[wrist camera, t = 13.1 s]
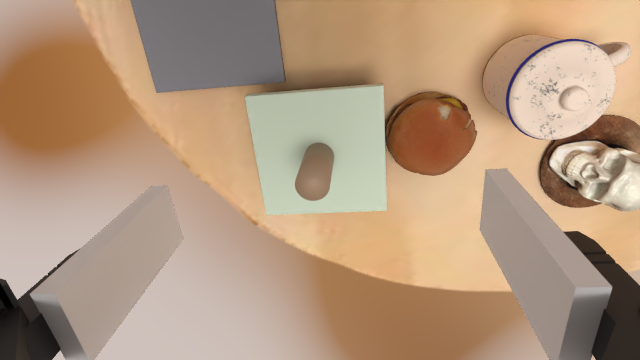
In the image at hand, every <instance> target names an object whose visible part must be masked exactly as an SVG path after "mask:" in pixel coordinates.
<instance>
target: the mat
mask: <svg viewBox="0 0 640 360" xmlns="http://www.w3.org/2000/svg"><path fill="white" fill-rule="evenodd" d="M131 4H132V7H133V11H134V15H135V18H136V22H137V25H138V29H139V32H140V36H141V39H142V43H143V46H144V50H145V54H146V57H147V61H148V64H149V68H150V71H151V75H152V78H153V82H154V86H155V89H156V93H159V92H171V91H183V90H195V89H207V88H219V87H231V86H243V85H255V84H267V83H279V82H285V73H284V66H283V58H282V51H281V43H280V36H279V28H278V21H277V14H276V6H275V0H131Z"/></svg>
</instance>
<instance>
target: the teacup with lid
mask: <svg viewBox="0 0 640 360" xmlns="http://www.w3.org/2000/svg"><path fill="white" fill-rule="evenodd" d="M630 55H631V48H630V45H629V44H627V43H624V42H612V43H605V44H600V45H596V44H594V43H591V42H589V41H585V40H580V39H566V40H563V39H557V38H552V37H546V36H540V35H526V36H521V37H518V38H515V39H513V40H511V41H509V42H507V43H506V44H504V45H503V46H502V47H501V48H499V49H498V50H497V51H496V52H495V53H494V55H493V56H492V57H491V59H490V60H489V62H488V64H487V66H486V68H485V71H484V76H483V90H484V94H485V96H486V98H487V100H488V102H489V103H490V104H491V105H492V106H493V107H494V108H495V109H497V110H498V111H499V112H500V113H502V114H503V115H504V116H506V117H507V118H508V119H510V120H511V122H512V123H513V124H514V126H515V127H516V128H517V129H518V130H519V131H521V132H522V133H524V134H525V135H527V136H530V137H532V138H536V139H541V140H557V139H563V138H567V137H570V136H573V135H575V134H577V133H579V132H581V131H583V130H585V129H586V128H588V127H589V126H591V125H592V124H593V123H594V122H595V121H597V120H598V119H599V118H600V116H601V115H602V114H603V113H604V112H605V110H606V109H607V107H608V106H609V104H610V102H611V100H612V97H613V95H614V91H615V86H616V72H615V68H614V67H616V66H618V65H620V64H621V63H623V62H625V61H626V60H627V59H628V58H629V57H630Z"/></svg>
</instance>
